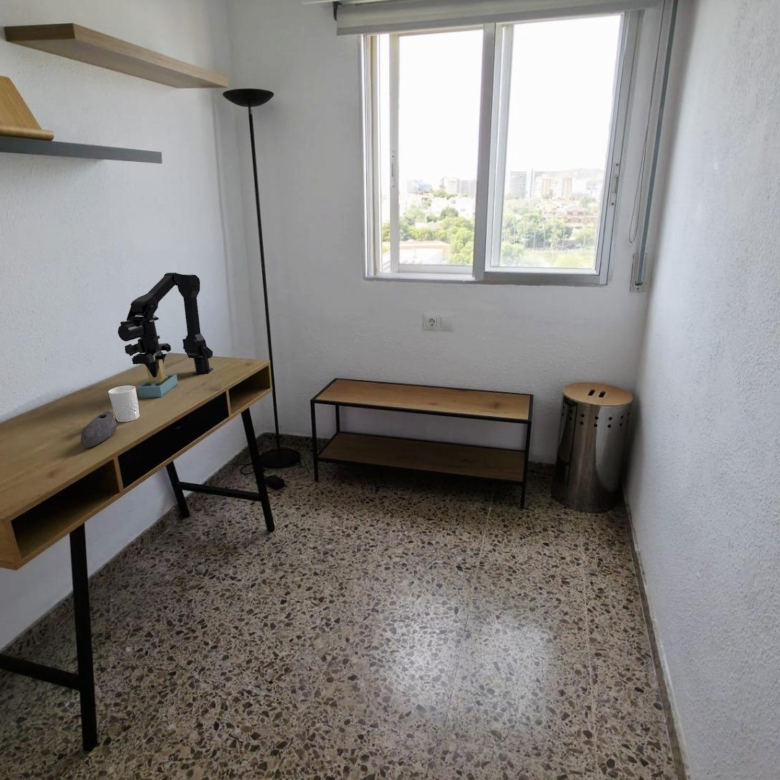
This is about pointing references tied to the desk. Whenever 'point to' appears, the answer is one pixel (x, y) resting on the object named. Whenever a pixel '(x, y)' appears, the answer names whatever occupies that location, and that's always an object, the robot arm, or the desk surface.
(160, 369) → the brass bracket
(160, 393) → the blue rectangular open bin
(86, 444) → the perforated stone tool
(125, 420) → the white cup
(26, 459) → the desk surface
